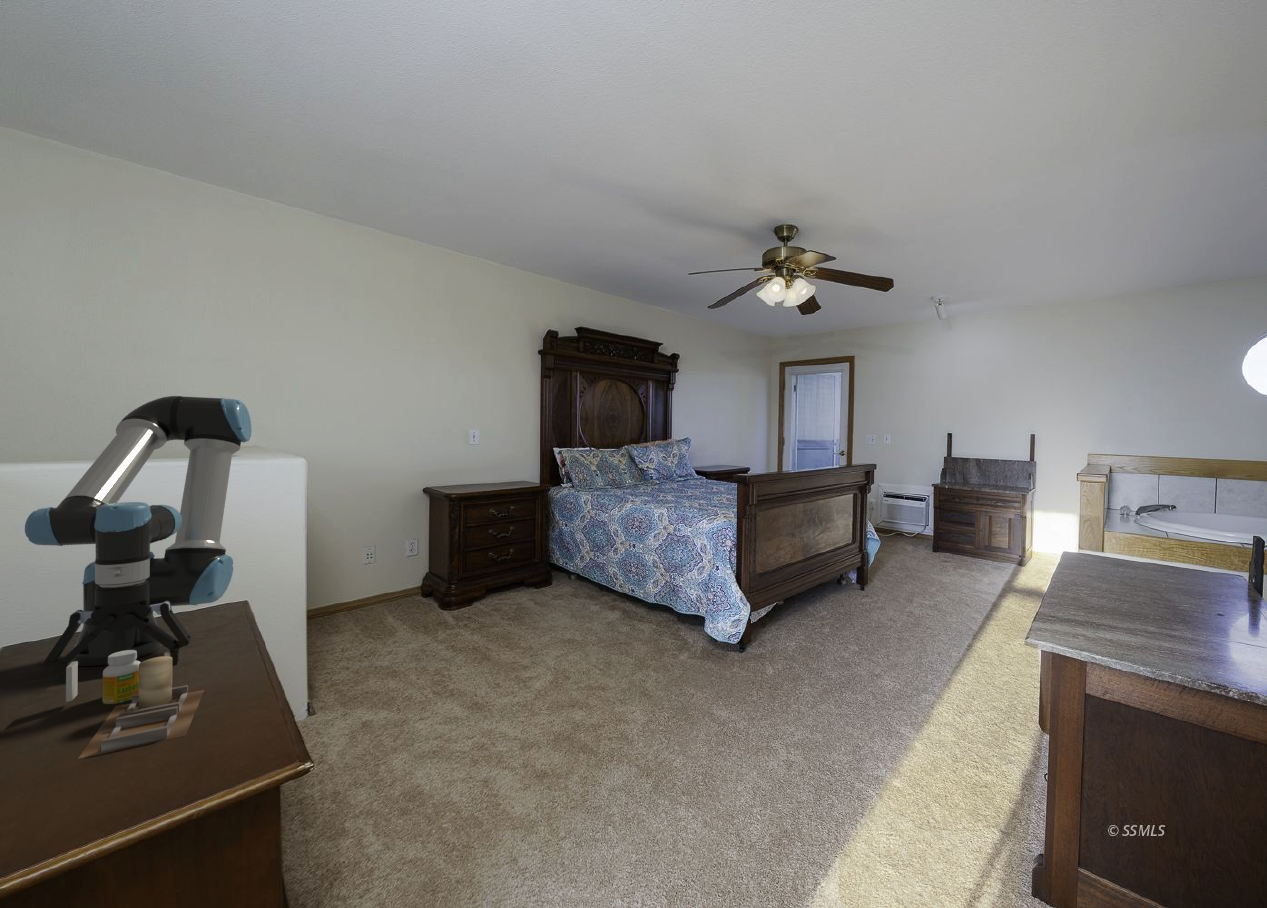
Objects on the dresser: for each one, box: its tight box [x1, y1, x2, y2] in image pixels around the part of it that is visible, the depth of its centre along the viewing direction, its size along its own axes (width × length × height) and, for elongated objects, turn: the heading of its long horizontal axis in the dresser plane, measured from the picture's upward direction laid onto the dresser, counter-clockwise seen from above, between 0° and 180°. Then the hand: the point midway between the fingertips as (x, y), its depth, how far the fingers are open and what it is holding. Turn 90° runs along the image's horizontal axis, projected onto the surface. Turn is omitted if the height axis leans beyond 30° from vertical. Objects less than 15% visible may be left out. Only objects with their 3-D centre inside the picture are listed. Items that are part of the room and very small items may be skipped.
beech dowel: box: [139, 655, 173, 709], centre depth 95 cm, size 5×5×9 cm
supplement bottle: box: [102, 650, 142, 705], centre depth 99 cm, size 5×5×10 cm
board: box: [77, 684, 205, 760], centre depth 91 cm, size 18×13×3 cm
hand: (121, 690), depth 99 cm, fingers open, 13 cm apart
